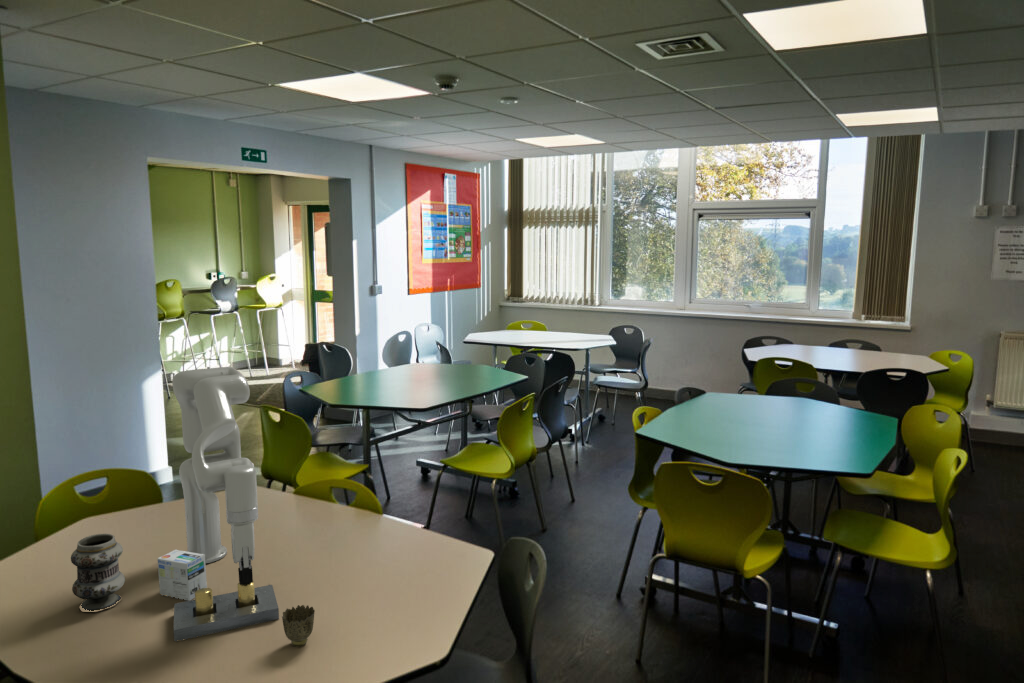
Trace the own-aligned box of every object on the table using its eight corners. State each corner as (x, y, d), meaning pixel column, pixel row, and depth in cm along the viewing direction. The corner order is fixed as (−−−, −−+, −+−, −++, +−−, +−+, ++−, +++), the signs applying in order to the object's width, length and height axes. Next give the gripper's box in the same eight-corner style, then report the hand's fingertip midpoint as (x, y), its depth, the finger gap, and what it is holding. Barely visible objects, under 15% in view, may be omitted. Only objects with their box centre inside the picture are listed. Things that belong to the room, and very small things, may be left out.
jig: (175, 614, 176) (174, 603, 176) (272, 594, 186) (272, 584, 186) (174, 641, 164) (173, 630, 163) (279, 619, 174) (278, 607, 174)
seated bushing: (196, 619, 174) (194, 589, 173) (213, 616, 176) (211, 586, 175) (196, 627, 170) (195, 596, 169) (214, 623, 172) (212, 593, 171)
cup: (287, 636, 166) (286, 605, 165) (318, 634, 167) (317, 603, 166) (279, 653, 159) (278, 621, 158) (312, 651, 159) (310, 619, 158)
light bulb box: (208, 590, 189) (206, 553, 188) (189, 601, 183) (187, 563, 182) (178, 584, 193) (175, 548, 191) (158, 595, 186) (156, 558, 185)
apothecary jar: (115, 613, 177) (110, 547, 175) (65, 617, 175) (59, 550, 173) (133, 591, 189) (129, 528, 187) (86, 594, 187) (81, 531, 185)
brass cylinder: (238, 610, 178) (236, 581, 177) (254, 607, 180) (253, 578, 179) (239, 617, 175) (238, 588, 174) (256, 614, 176) (254, 585, 175)
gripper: (224, 507, 179) (228, 573, 181) (228, 526, 166) (232, 598, 168) (255, 502, 182) (258, 568, 184) (260, 521, 169) (264, 592, 171)
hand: (246, 582), depth 176 cm, fingers closed
